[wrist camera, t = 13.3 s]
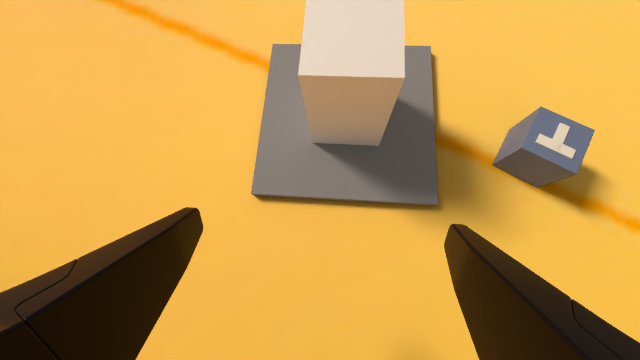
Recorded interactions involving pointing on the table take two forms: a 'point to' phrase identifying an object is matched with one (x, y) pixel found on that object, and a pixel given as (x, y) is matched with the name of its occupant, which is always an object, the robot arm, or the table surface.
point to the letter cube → (544, 148)
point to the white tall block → (351, 68)
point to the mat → (344, 159)
